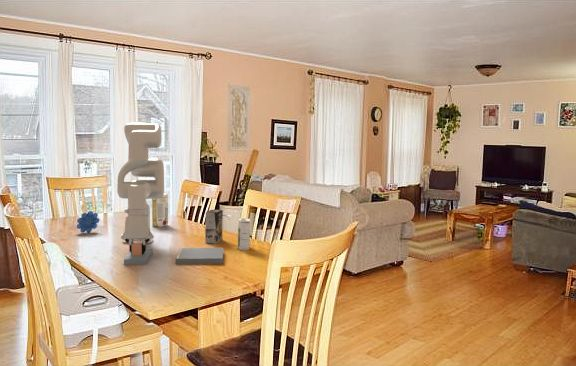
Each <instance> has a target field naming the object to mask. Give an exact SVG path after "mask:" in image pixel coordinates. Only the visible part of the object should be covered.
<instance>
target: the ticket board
mask: <svg viewBox="0 0 576 366" xmlns="http://www.w3.org/2000/svg"><path fill="white" fill-rule="evenodd" d="M174 261H175V262H174V263H175V265H209V264H210V265H223V264H224V247H180V248H179V249H178V252H177V254H176V257H175V260H174Z"/></svg>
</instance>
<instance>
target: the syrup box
mask: <svg viewBox="0 0 576 366" xmlns="http://www.w3.org/2000/svg"><path fill="white" fill-rule="evenodd" d="M237 230H238V231H237V250H238V251H240V250H241V251H242V250H243V251H246V250H247V251H248V250H250V246H251V245H250V244H251V243H250V242H251V218H245V217H243V218H238V229H237Z"/></svg>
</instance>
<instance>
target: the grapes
mask: <svg viewBox="0 0 576 366" xmlns="http://www.w3.org/2000/svg"><path fill="white" fill-rule="evenodd" d="M98 216H99V214H98V213H97V212H94V211H92V210H89V211H87V212H83V213H81V216H80V217H78V218H77V220H76V222H77V223H78V224H77V225H76V229H78V230H79V231H80V233H85V232H86V233H91V232H92V230H95V229H97V227H98V224H99V223H100V218H99V217H98Z"/></svg>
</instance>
